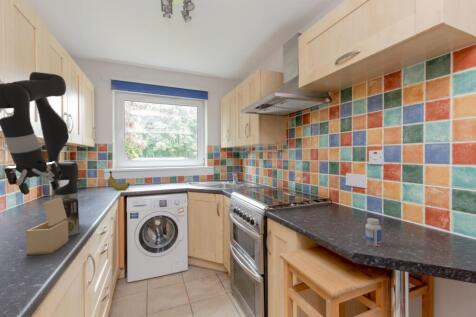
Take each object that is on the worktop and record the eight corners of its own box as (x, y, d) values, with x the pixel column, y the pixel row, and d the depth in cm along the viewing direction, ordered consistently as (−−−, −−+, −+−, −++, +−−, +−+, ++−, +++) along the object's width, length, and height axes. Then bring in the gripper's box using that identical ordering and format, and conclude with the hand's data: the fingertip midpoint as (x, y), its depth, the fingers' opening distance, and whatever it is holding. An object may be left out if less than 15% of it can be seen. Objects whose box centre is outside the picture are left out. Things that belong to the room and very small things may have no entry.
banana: (131, 189, 227) (130, 170, 227) (127, 190, 222) (127, 171, 221) (111, 189, 230) (110, 170, 230) (107, 190, 224) (106, 171, 224)
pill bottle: (378, 241, 89) (378, 217, 89) (383, 247, 84) (384, 222, 83) (363, 240, 90) (363, 217, 90) (368, 245, 85) (368, 221, 85)
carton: (46, 243, 91) (46, 221, 91) (68, 241, 92) (67, 220, 92) (26, 255, 80) (25, 231, 80) (51, 253, 81) (50, 229, 81)
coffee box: (75, 230, 106) (74, 197, 105) (79, 233, 102) (78, 199, 101) (51, 236, 99) (50, 200, 98) (54, 239, 95) (53, 202, 94)
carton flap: (64, 218, 91) (59, 197, 91) (66, 217, 92) (61, 197, 91) (48, 226, 82) (42, 203, 81) (51, 225, 82) (44, 202, 81)
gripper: (55, 143, 77) (69, 183, 83) (5, 147, 73) (23, 189, 79) (45, 149, 70) (60, 193, 76) (-11, 154, 66) (10, 200, 72)
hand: (41, 191), depth 77 cm, fingers open, 8 cm apart
